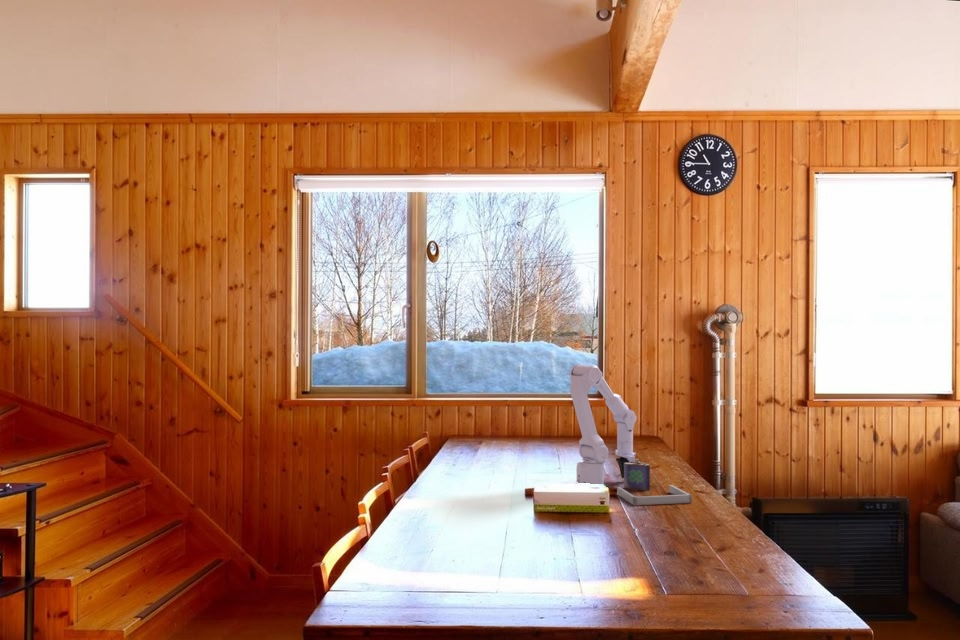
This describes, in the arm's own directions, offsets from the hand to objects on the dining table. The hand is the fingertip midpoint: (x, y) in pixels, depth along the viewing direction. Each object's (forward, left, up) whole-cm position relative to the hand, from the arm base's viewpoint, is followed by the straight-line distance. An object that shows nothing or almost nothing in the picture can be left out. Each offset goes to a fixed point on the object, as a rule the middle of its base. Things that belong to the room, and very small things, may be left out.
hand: (624, 477), depth 273 cm
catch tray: (0, -25, -1) cm, 26 cm away
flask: (0, -11, -2) cm, 12 cm away
